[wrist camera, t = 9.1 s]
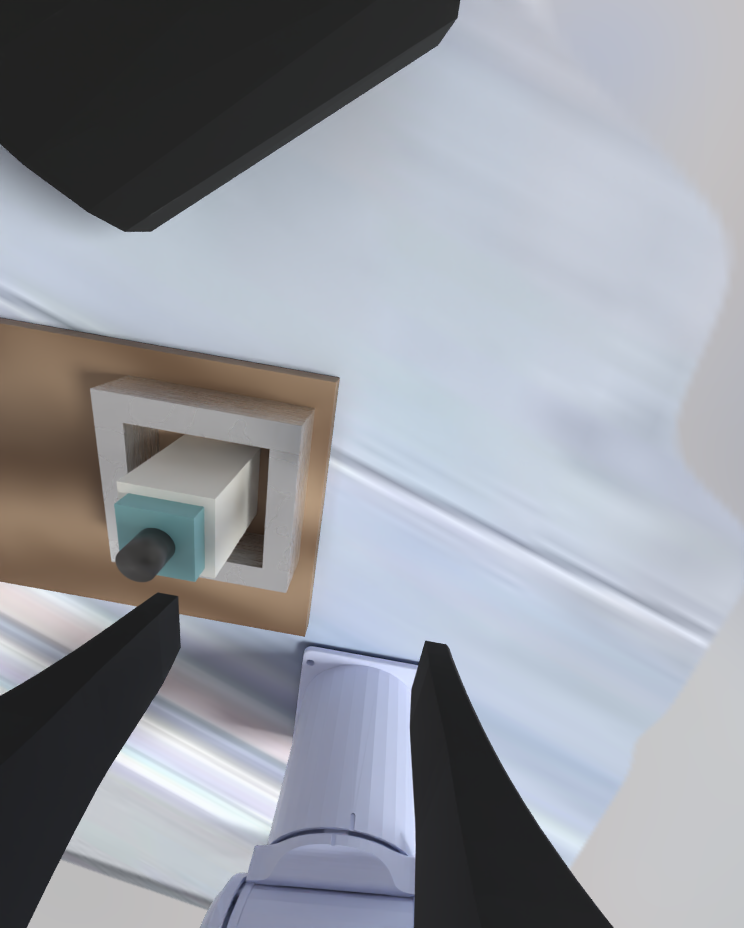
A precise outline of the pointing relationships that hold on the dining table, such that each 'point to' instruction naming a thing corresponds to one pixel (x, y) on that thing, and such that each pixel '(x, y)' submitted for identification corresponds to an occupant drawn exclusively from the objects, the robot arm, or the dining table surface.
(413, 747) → the robot arm
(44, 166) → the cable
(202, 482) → the connector plug
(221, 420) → the end holder
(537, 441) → the dining table surface
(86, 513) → the board
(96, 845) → the dining table surface
